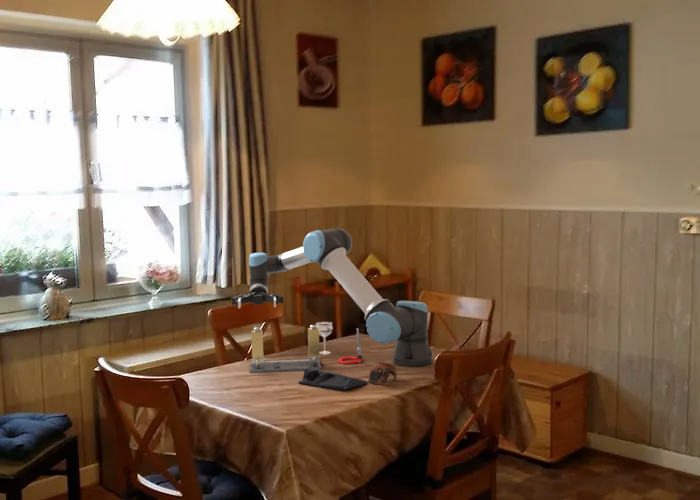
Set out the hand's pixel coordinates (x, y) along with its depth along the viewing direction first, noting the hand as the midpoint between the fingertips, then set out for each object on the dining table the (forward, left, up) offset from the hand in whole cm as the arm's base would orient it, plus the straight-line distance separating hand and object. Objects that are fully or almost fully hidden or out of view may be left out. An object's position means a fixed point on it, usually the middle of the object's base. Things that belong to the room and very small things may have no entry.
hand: (257, 304), depth 289 cm
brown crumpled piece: (-49, -26, -23) cm, 60 cm away
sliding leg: (-10, +4, -20) cm, 23 cm away
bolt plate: (-13, -5, -22) cm, 26 cm away
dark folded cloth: (-41, -11, -23) cm, 48 cm away
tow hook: (-20, -29, -23) cm, 42 cm away
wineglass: (-3, -27, -23) cm, 36 cm away
